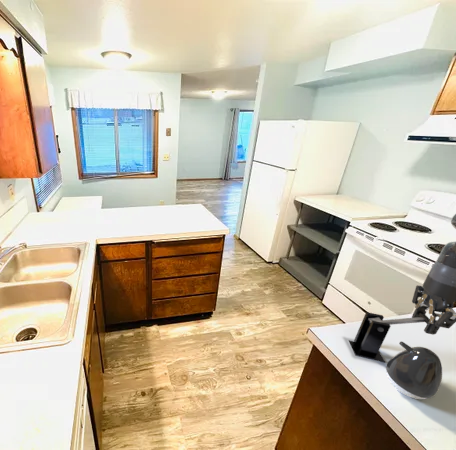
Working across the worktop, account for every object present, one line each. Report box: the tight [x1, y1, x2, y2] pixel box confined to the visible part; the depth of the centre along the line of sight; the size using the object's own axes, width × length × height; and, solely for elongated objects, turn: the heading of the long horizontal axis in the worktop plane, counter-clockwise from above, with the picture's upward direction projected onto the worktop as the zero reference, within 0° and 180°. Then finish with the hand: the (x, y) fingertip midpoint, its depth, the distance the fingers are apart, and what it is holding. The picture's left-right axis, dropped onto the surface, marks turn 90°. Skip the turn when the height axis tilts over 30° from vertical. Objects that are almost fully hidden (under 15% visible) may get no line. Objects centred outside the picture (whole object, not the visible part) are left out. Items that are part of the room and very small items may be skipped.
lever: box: [368, 312, 430, 326], centre depth 74 cm, size 14×5×2 cm, turn 71°
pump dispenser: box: [385, 341, 443, 400], centre depth 66 cm, size 10×10×15 cm
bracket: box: [348, 311, 392, 364], centre depth 78 cm, size 8×8×14 cm
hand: (422, 325), depth 72 cm, fingers closed on lever, 5 cm apart
